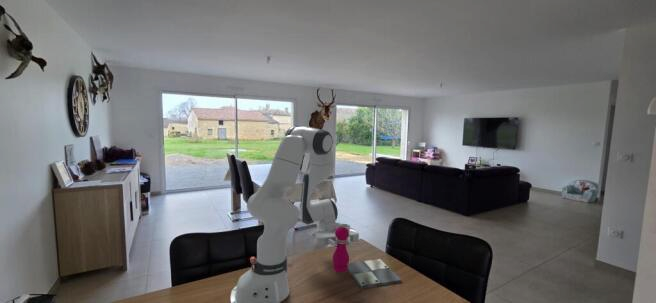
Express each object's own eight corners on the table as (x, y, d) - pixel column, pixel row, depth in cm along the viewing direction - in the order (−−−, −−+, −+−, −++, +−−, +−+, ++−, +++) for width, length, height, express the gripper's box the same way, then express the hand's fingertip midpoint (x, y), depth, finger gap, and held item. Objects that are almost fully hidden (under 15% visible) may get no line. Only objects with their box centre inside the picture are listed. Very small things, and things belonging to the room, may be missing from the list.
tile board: (361, 288, 113) (361, 285, 112) (344, 265, 131) (344, 263, 130) (401, 281, 118) (401, 279, 118) (380, 260, 136) (380, 258, 136)
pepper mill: (347, 274, 115) (349, 227, 113) (330, 271, 116) (332, 225, 114) (349, 265, 122) (351, 221, 120) (333, 263, 123) (335, 220, 121)
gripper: (311, 227, 127) (319, 239, 113) (352, 224, 133) (364, 235, 120) (310, 240, 127) (318, 254, 114) (351, 236, 133) (363, 249, 120)
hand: (342, 244), depth 117 cm, fingers closed on pepper mill, 5 cm apart
